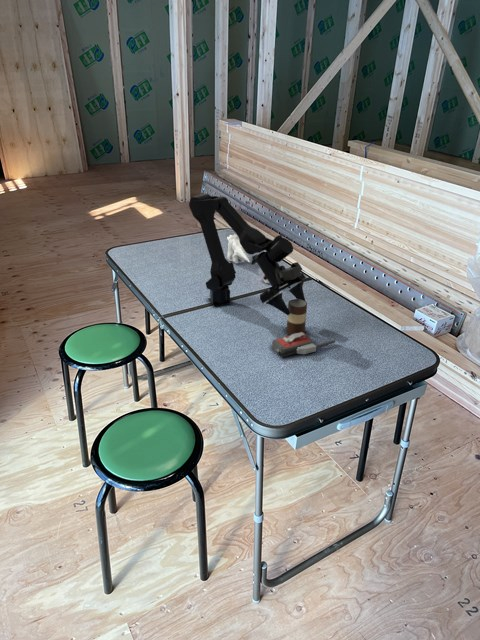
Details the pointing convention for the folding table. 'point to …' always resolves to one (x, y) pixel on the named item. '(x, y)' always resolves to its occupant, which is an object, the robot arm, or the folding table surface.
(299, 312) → the coffee can
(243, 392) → the folding table surface
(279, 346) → the walkie-talkie
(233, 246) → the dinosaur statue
